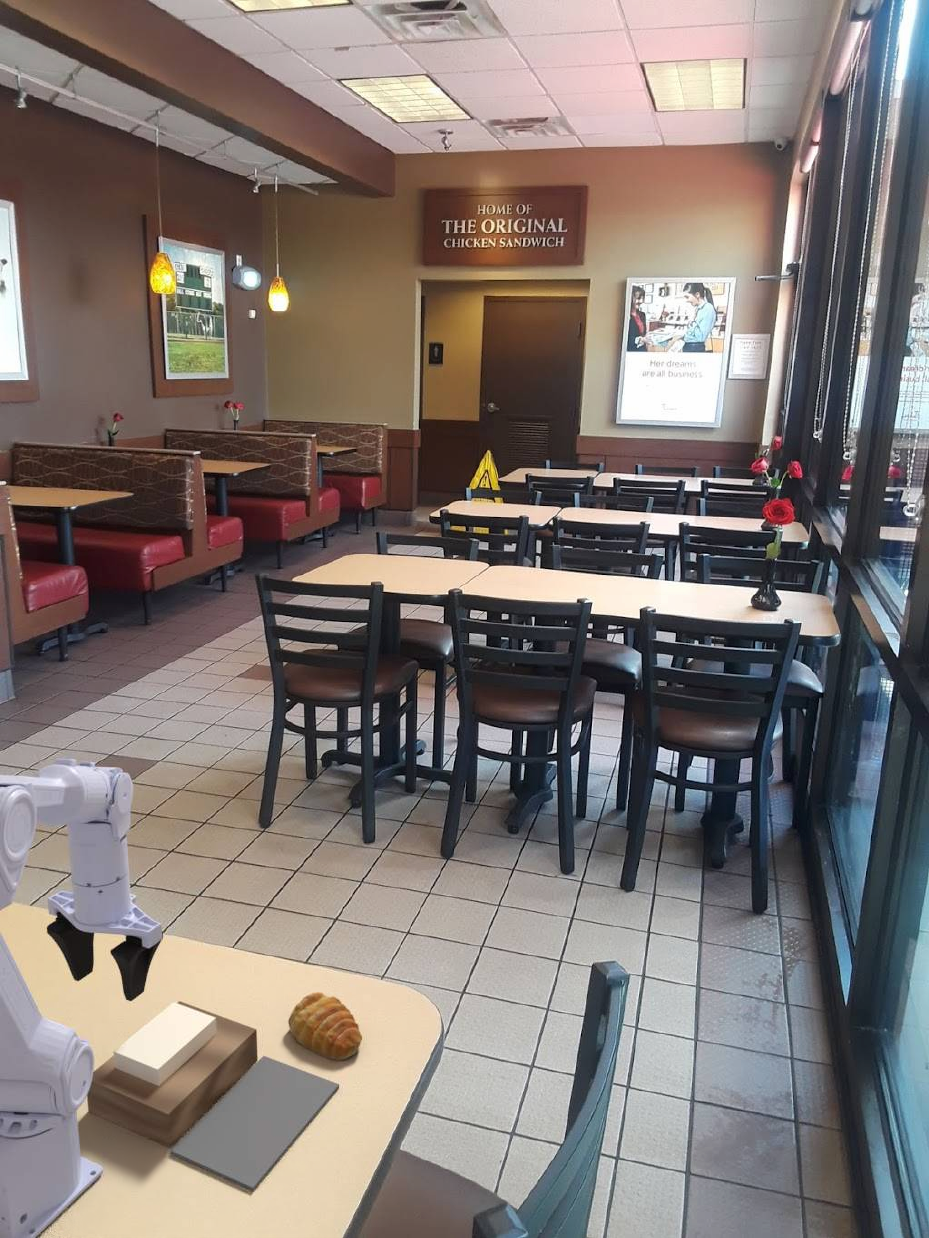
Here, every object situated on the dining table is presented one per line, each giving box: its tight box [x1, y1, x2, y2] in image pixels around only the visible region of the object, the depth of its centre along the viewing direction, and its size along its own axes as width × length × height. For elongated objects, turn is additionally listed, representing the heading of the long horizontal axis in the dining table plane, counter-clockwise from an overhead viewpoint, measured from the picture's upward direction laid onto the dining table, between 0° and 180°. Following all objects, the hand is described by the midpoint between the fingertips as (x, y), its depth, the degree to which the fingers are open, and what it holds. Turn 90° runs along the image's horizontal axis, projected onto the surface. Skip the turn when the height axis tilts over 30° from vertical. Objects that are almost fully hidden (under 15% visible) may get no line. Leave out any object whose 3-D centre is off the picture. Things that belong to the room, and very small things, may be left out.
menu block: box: [113, 1001, 217, 1086], centre depth 100 cm, size 9×6×2 cm, turn 155°
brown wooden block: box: [86, 1001, 259, 1149], centre depth 100 cm, size 14×11×4 cm
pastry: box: [287, 991, 363, 1061], centre depth 108 cm, size 9×7×4 cm
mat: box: [170, 1055, 340, 1192], centre depth 96 cm, size 15×10×1 cm, turn 155°
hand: (108, 985), depth 102 cm, fingers open, 7 cm apart
